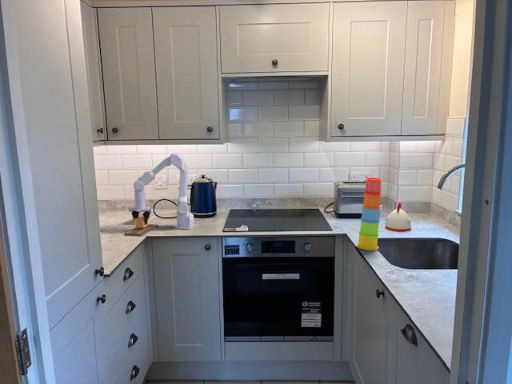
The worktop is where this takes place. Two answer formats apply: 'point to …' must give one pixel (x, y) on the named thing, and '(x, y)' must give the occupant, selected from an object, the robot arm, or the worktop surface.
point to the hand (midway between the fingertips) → (141, 223)
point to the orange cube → (140, 222)
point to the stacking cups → (370, 215)
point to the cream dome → (398, 221)
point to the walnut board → (141, 230)
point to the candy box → (139, 216)
